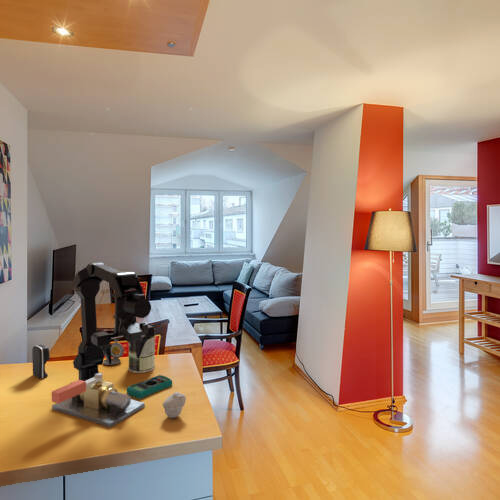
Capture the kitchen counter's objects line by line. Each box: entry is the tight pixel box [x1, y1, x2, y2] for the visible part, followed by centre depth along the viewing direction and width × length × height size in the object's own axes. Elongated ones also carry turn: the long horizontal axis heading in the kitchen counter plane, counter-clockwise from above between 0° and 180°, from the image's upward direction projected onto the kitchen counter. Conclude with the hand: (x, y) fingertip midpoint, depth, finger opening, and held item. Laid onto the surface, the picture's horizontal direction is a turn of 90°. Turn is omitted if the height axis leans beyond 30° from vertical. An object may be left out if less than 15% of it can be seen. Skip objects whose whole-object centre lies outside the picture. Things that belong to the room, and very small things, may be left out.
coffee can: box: [128, 335, 156, 374], centre depth 149 cm, size 10×10×14 cm
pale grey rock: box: [162, 391, 187, 419], centre depth 110 cm, size 6×7×7 cm
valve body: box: [51, 379, 146, 428], centre depth 115 cm, size 24×14×8 cm, turn 65°
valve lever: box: [51, 372, 104, 404], centre depth 108 cm, size 16×3×3 cm, turn 155°
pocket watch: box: [103, 338, 125, 366], centre depth 155 cm, size 8×8×10 cm
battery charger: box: [31, 344, 51, 379], centre depth 140 cm, size 7×4×11 cm, turn 52°
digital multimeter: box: [126, 374, 173, 400], centre depth 130 cm, size 7×15×3 cm, turn 143°
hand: (124, 361), depth 117 cm, fingers open, 9 cm apart
